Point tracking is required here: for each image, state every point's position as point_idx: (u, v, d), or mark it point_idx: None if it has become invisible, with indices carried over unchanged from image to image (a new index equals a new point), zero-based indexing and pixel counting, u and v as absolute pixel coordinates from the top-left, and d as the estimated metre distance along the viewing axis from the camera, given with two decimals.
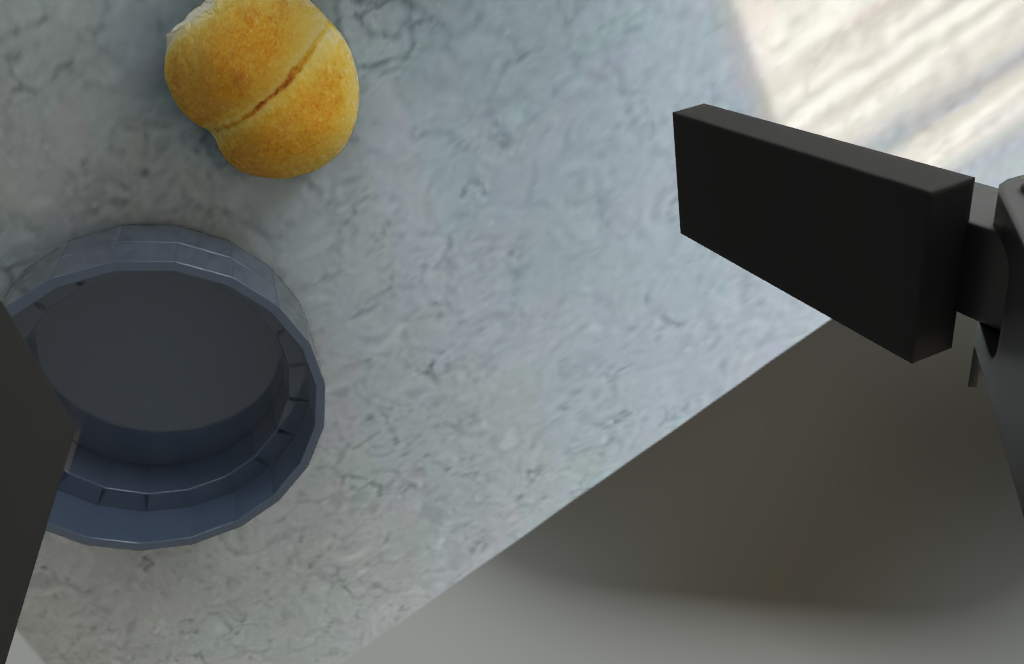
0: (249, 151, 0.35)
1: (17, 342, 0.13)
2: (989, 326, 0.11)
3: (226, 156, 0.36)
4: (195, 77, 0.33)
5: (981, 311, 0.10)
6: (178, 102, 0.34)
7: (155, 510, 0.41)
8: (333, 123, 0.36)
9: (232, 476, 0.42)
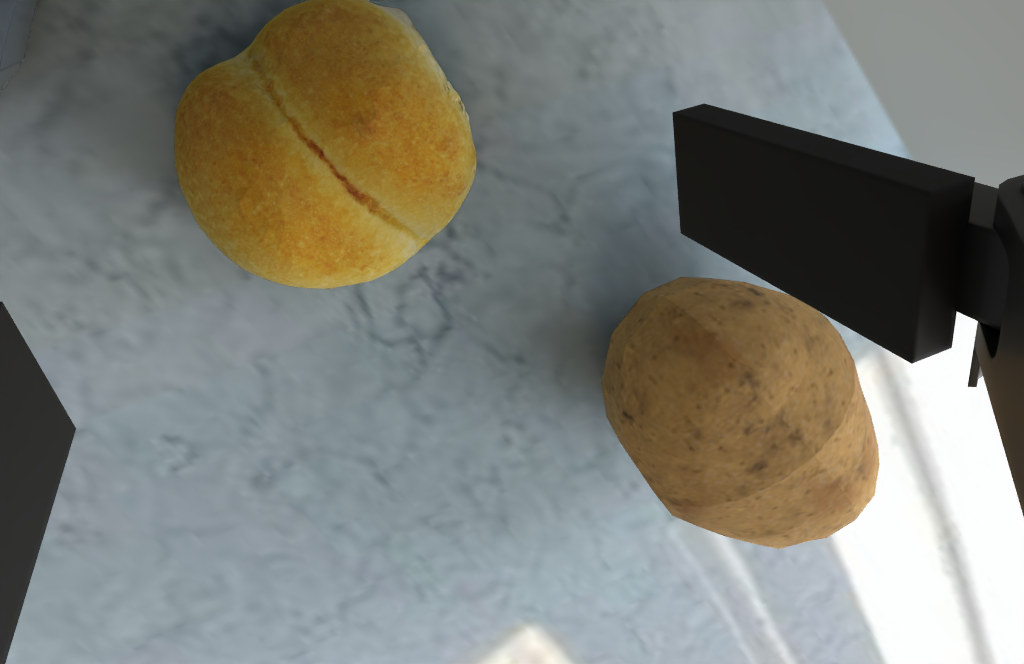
0: (232, 124, 0.20)
1: (17, 342, 0.13)
2: (990, 326, 0.11)
3: (210, 78, 0.21)
4: (356, 51, 0.20)
5: (981, 311, 0.10)
6: (302, 12, 0.20)
7: None
8: (294, 261, 0.22)
9: None
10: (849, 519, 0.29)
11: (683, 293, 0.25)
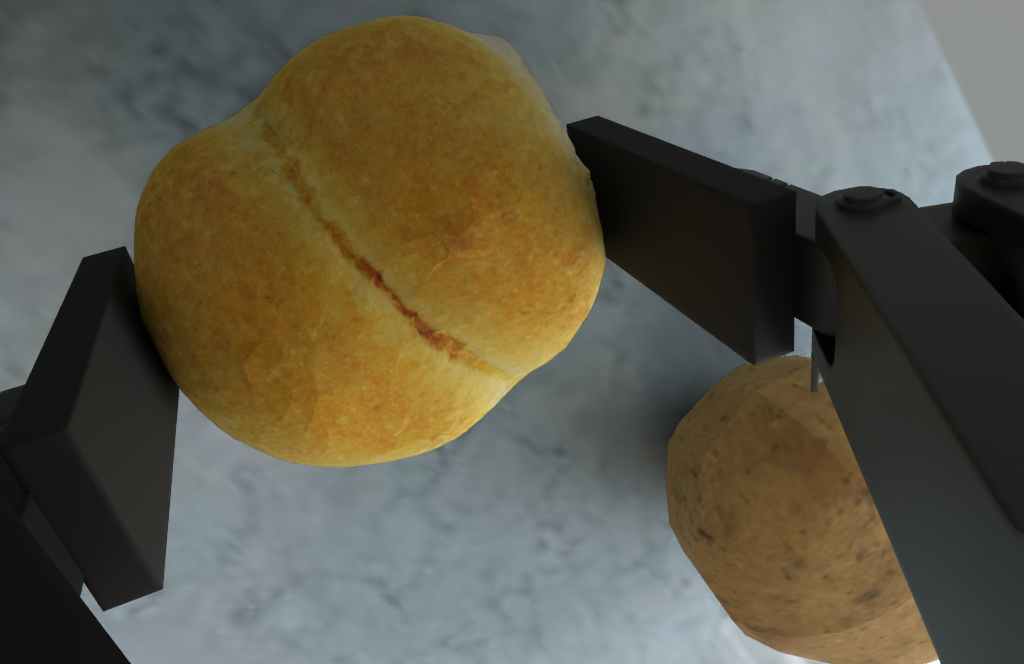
0: (231, 238, 0.12)
1: None
2: (823, 334, 0.11)
3: (193, 157, 0.12)
4: (442, 113, 0.12)
5: (814, 321, 0.11)
6: (348, 45, 0.12)
7: None
8: (331, 444, 0.14)
9: None
10: None
11: (778, 385, 0.20)
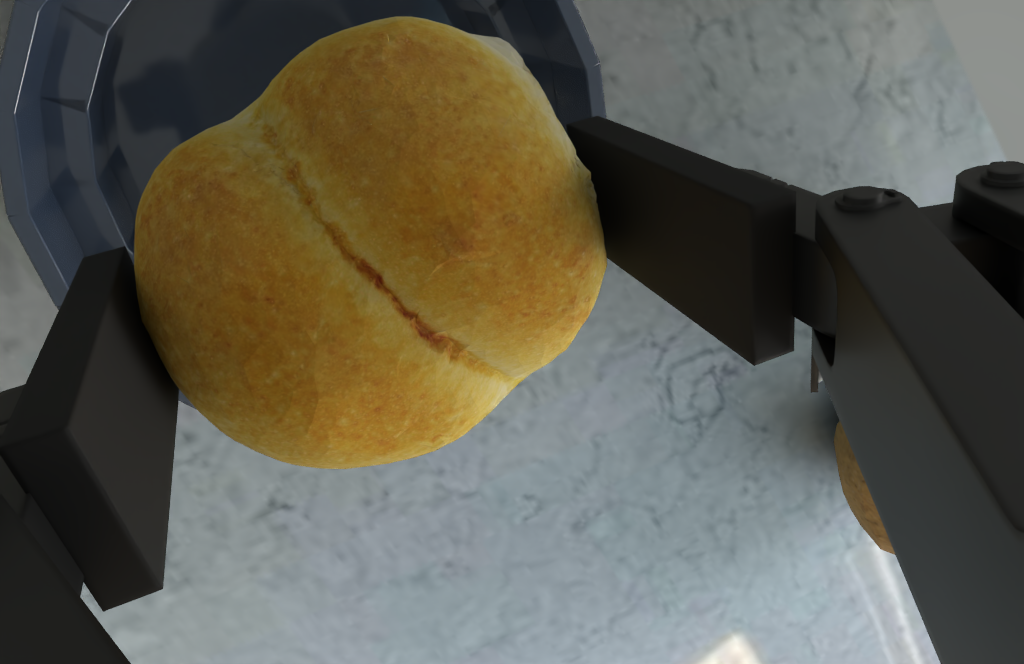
0: (231, 240, 0.12)
1: None
2: (823, 334, 0.11)
3: (193, 158, 0.12)
4: (442, 114, 0.12)
5: (814, 321, 0.11)
6: (348, 46, 0.12)
7: (41, 117, 0.20)
8: (332, 445, 0.14)
9: None
10: None
11: None
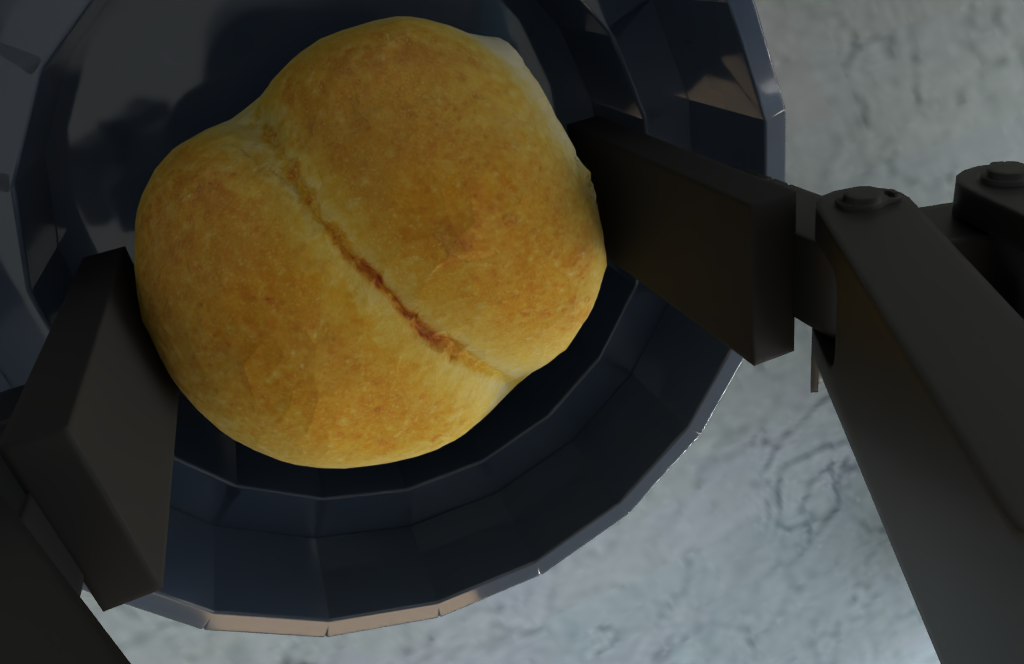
0: (231, 239, 0.12)
1: None
2: (823, 334, 0.11)
3: (193, 158, 0.12)
4: (442, 114, 0.12)
5: (814, 321, 0.11)
6: (348, 46, 0.12)
7: None
8: (331, 445, 0.14)
9: None
10: None
11: None
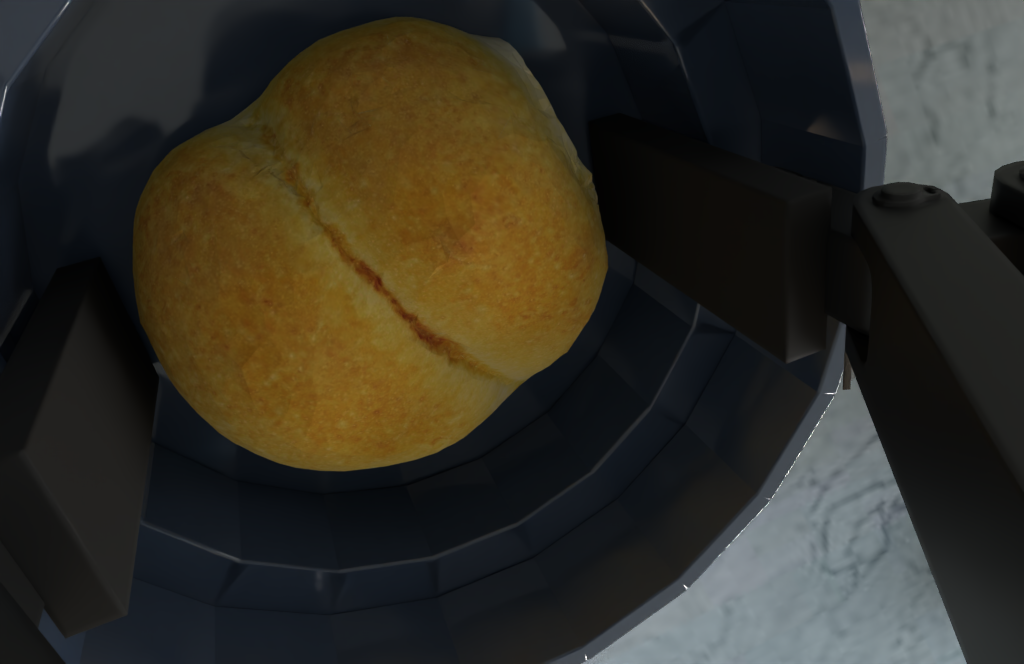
0: (229, 241, 0.12)
1: (113, 294, 0.14)
2: (857, 332, 0.11)
3: (191, 159, 0.12)
4: (442, 116, 0.12)
5: (848, 317, 0.11)
6: (348, 47, 0.12)
7: None
8: (330, 448, 0.14)
9: None
10: None
11: None
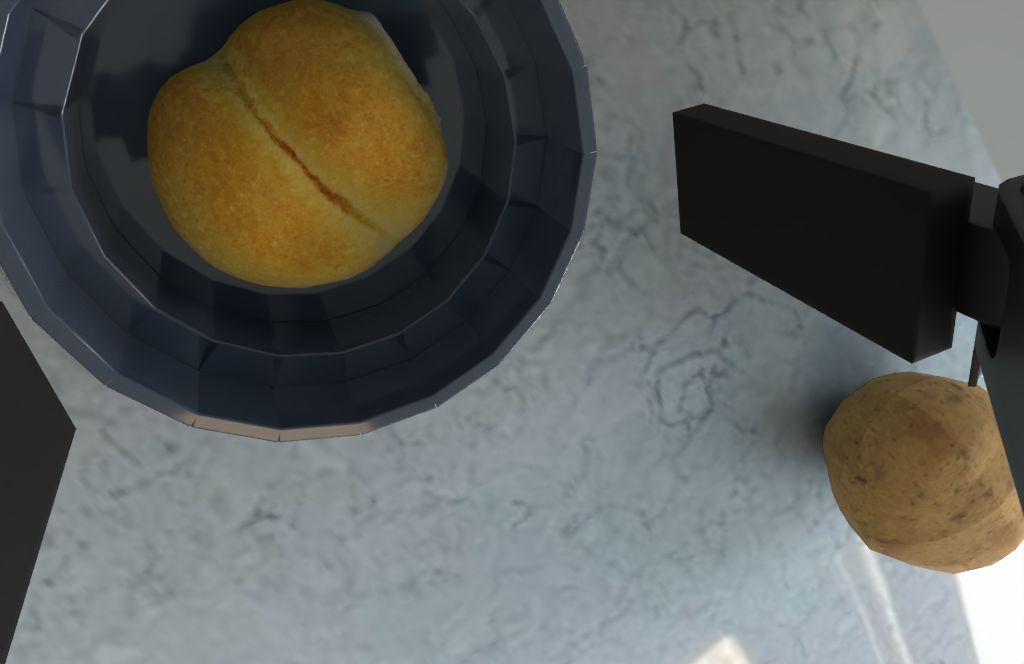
0: (204, 126, 0.20)
1: (17, 342, 0.13)
2: (989, 326, 0.11)
3: (182, 81, 0.21)
4: (326, 54, 0.21)
5: (981, 311, 0.10)
6: (273, 15, 0.21)
7: (14, 122, 0.19)
8: (268, 261, 0.22)
9: (105, 269, 0.21)
10: (1011, 551, 0.38)
11: (909, 390, 0.34)
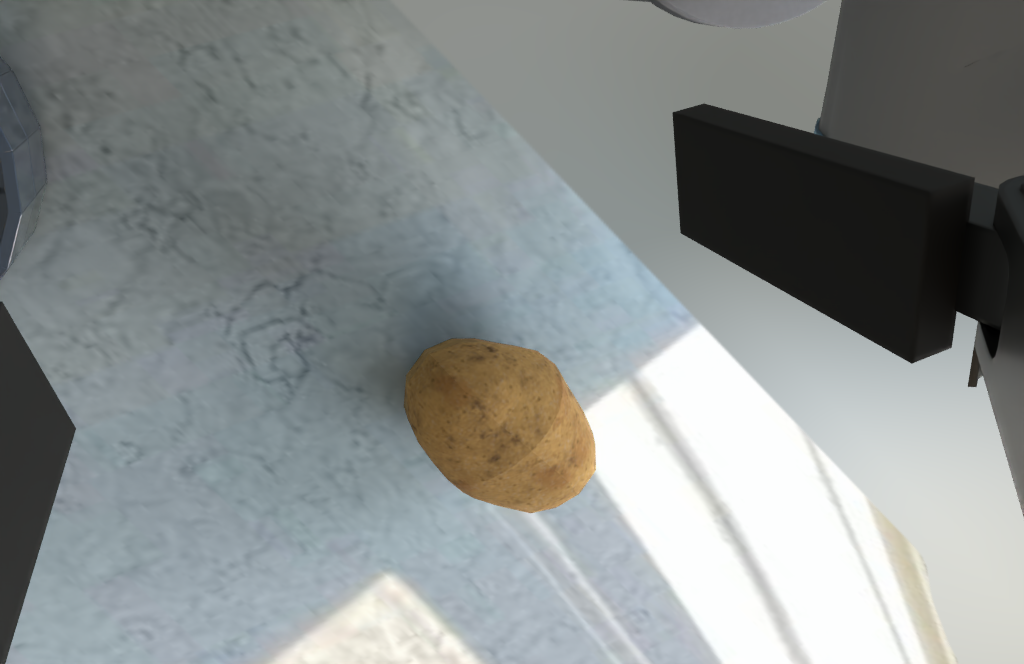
0: None
1: (17, 342, 0.13)
2: (990, 326, 0.11)
3: None
4: None
5: (981, 311, 0.10)
6: None
7: None
8: None
9: None
10: (570, 492, 0.45)
11: (441, 351, 0.41)
